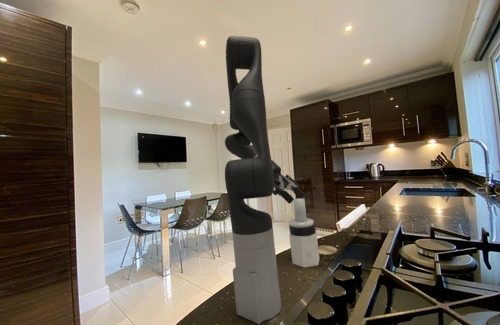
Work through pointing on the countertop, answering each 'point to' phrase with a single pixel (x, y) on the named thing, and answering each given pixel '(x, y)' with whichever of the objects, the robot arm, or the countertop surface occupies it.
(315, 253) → the jar
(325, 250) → the disc
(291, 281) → the countertop surface
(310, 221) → the lid
